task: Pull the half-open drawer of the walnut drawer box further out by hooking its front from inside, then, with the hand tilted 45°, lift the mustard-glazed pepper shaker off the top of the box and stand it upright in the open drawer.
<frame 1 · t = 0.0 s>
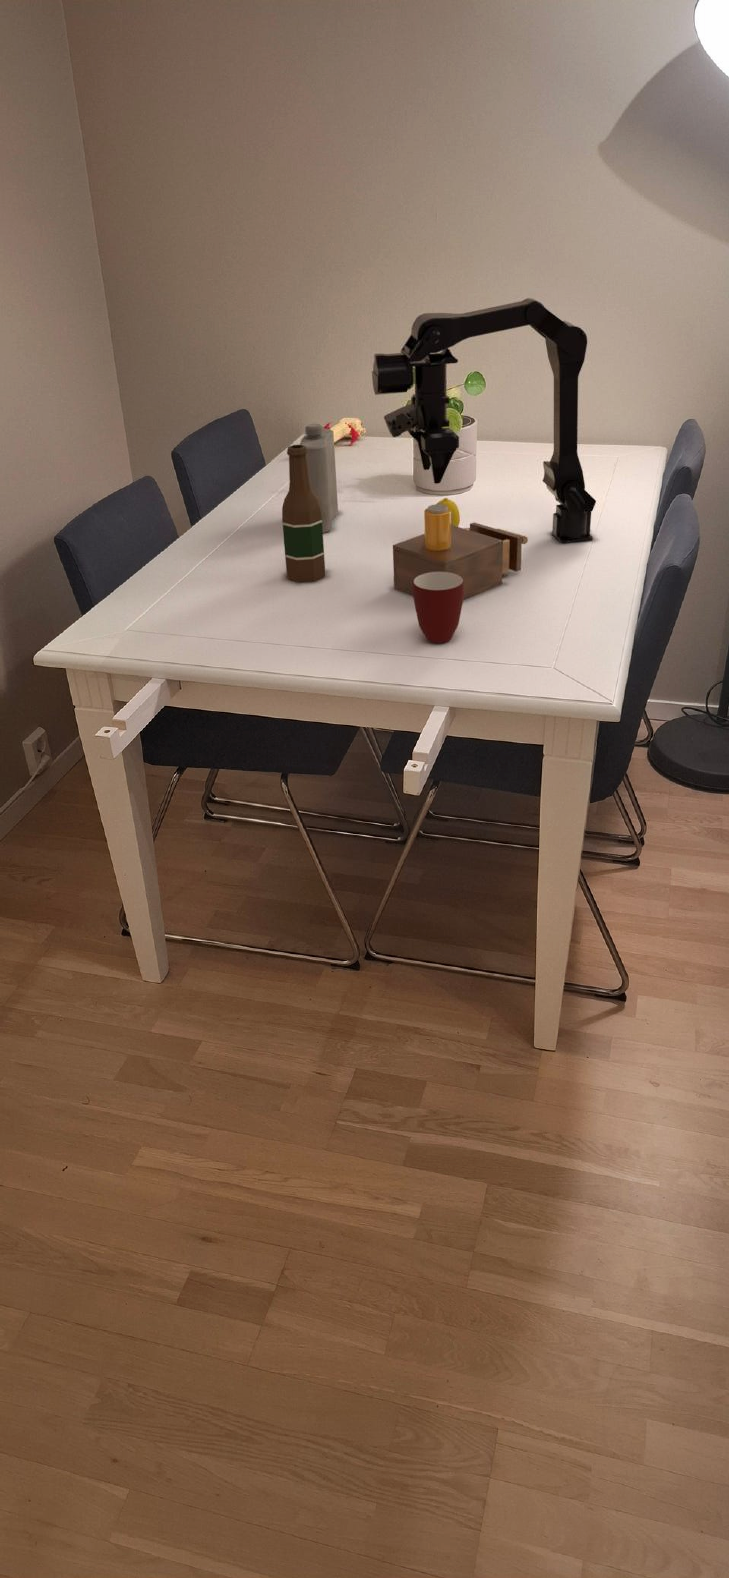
hand: (431, 476, 206), 15 cm above the table, tool pointing down, fingers open, 9 cm apart
pepper shaker: (437, 546, 192), point 8 cm above the table, touching cabinet
drawer: (480, 552, 200), point 4 cm above the table, slide at 4.5 cm
cabinet: (448, 586, 198), on the table
beer bottle: (306, 576, 206), on the table
meaty bone: (336, 447, 282), on the table
mug: (439, 636, 180), on the table
lemon: (446, 538, 220), on the table
flask: (321, 522, 232), on the table
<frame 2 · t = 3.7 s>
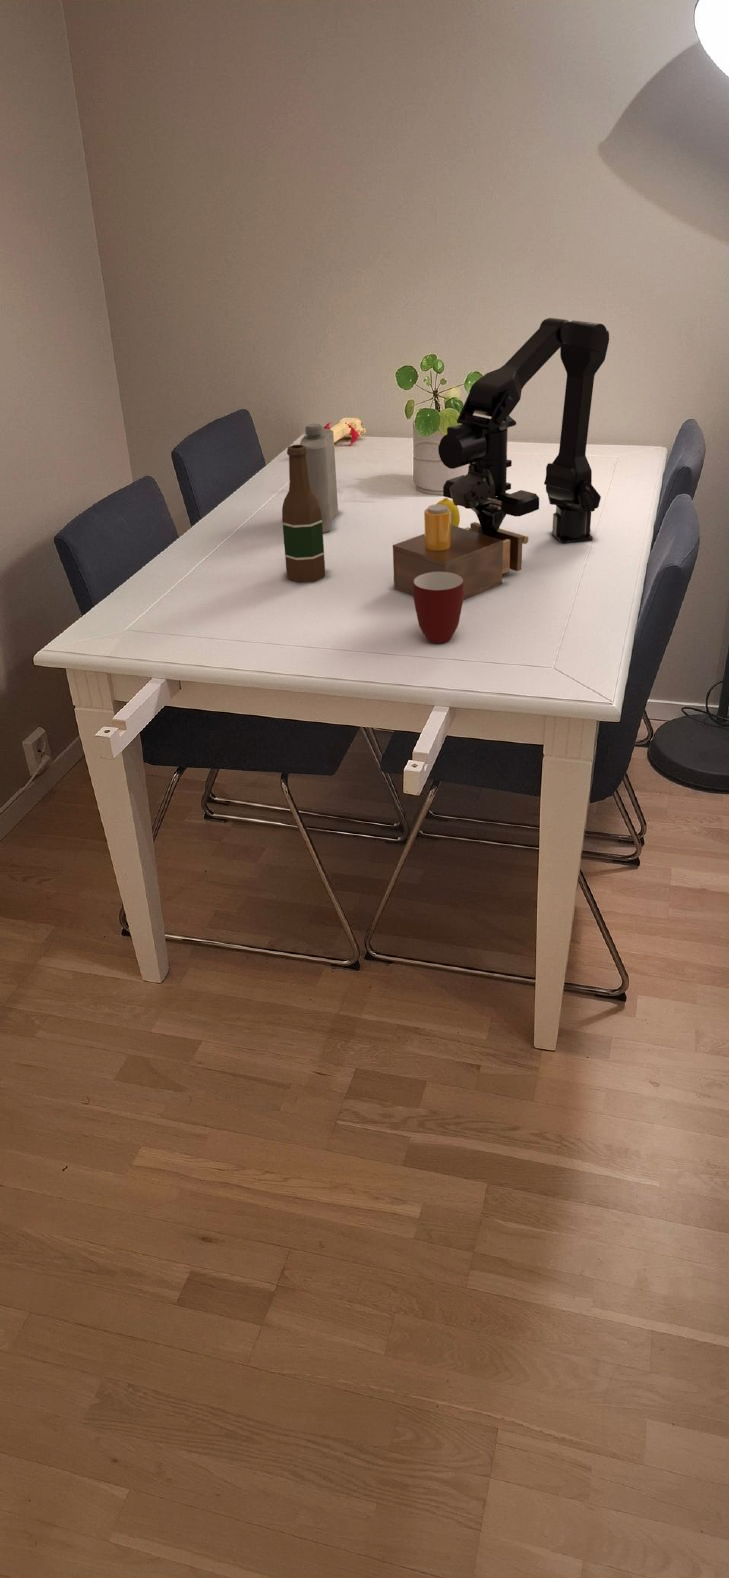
hand: (489, 541, 201), 6 cm above the table, tool pointing down, fingers closed, pressing on drawer
drawer: (481, 552, 201), point 4 cm above the table, slide at 4.7 cm, touching gripper
everything else where it was.
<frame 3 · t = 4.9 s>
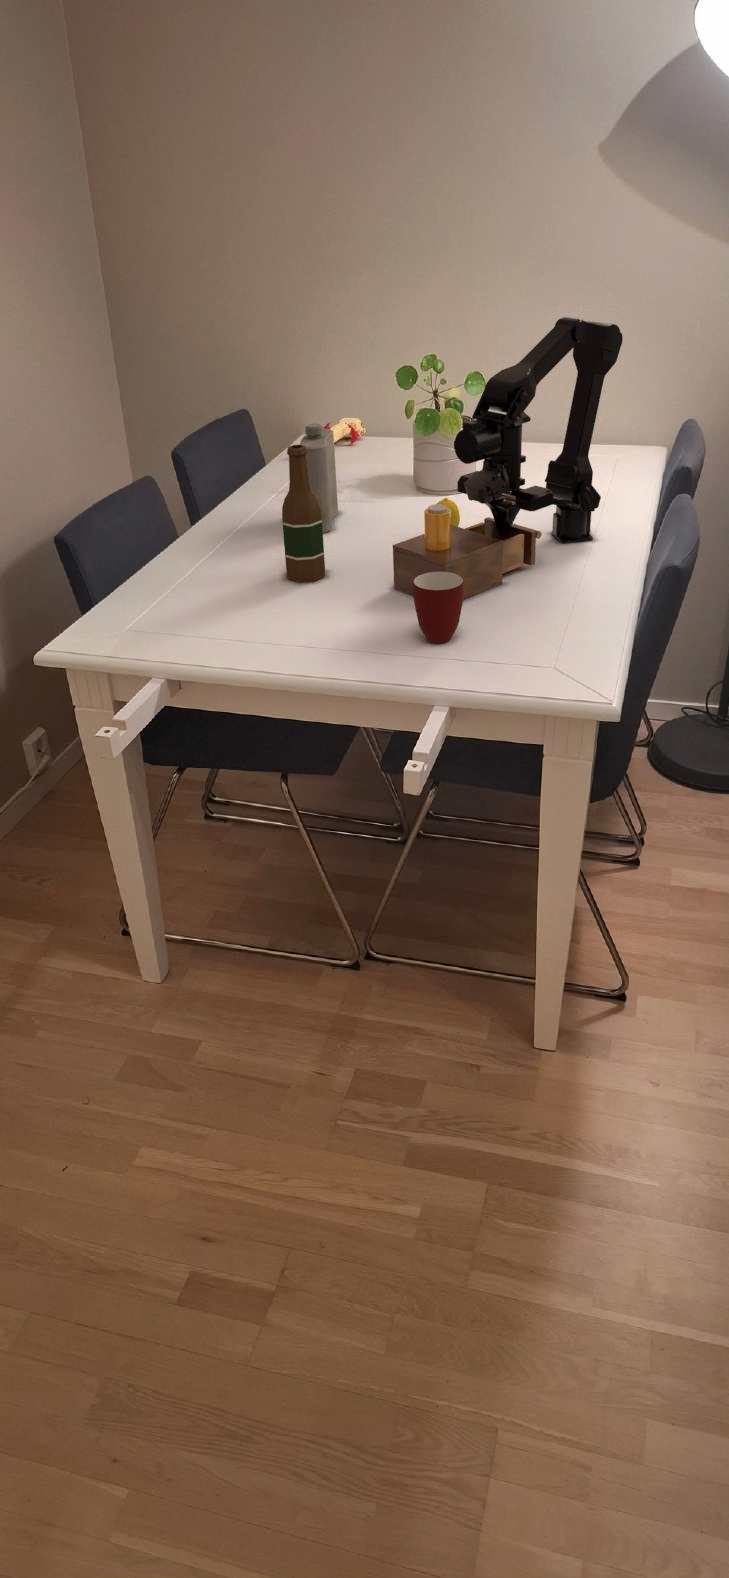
hand: (503, 536, 203), 6 cm above the table, tool pointing down, fingers closed, pressing on drawer
drawer: (495, 546, 203), point 4 cm above the table, slide at 8.4 cm, touching gripper
everything else where it was.
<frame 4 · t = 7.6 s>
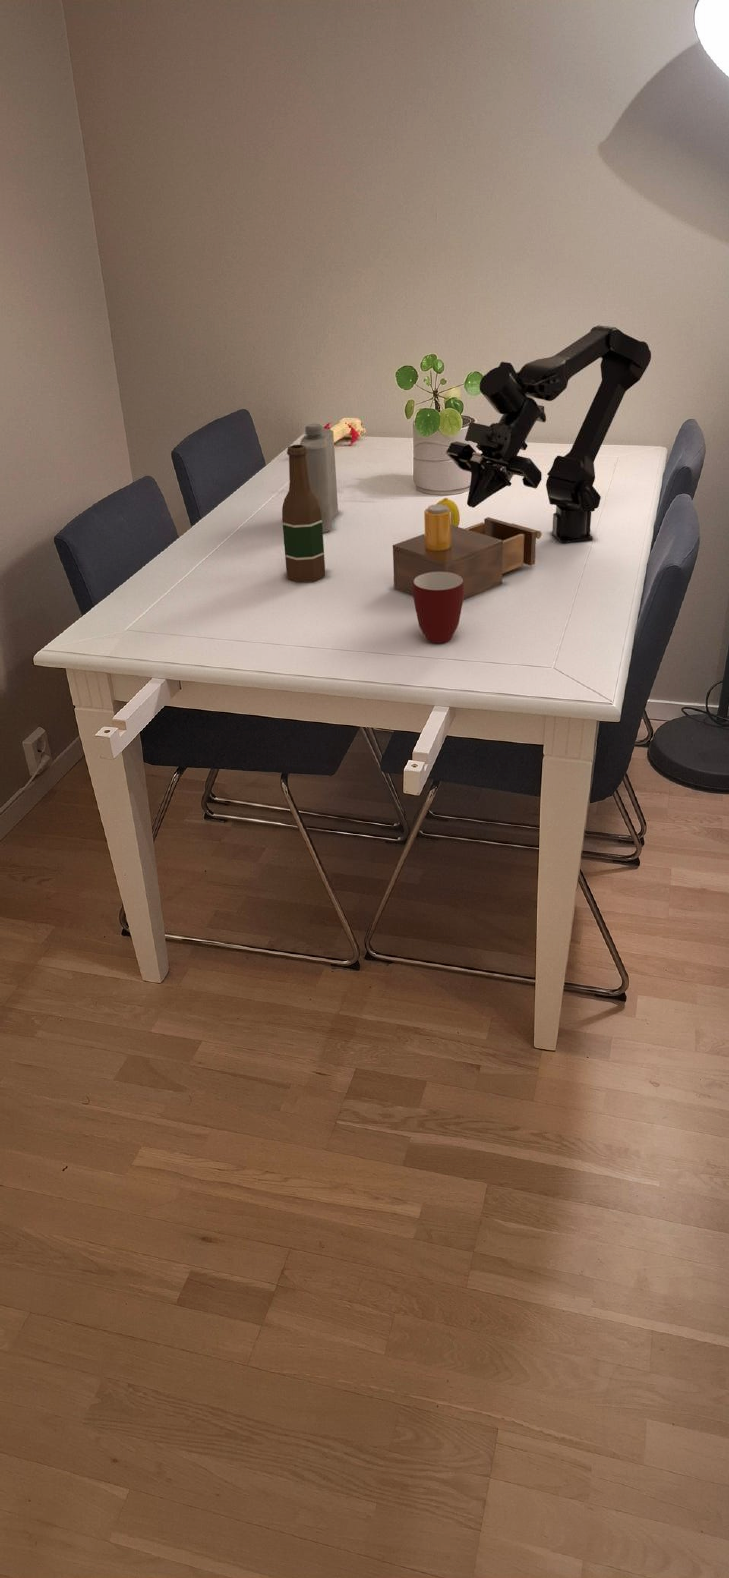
hand: (470, 506, 194), 13 cm above the table, tool tilted 45°, fingers closed
drawer: (495, 546, 203), point 4 cm above the table, slide at 8.4 cm
everything else where it was.
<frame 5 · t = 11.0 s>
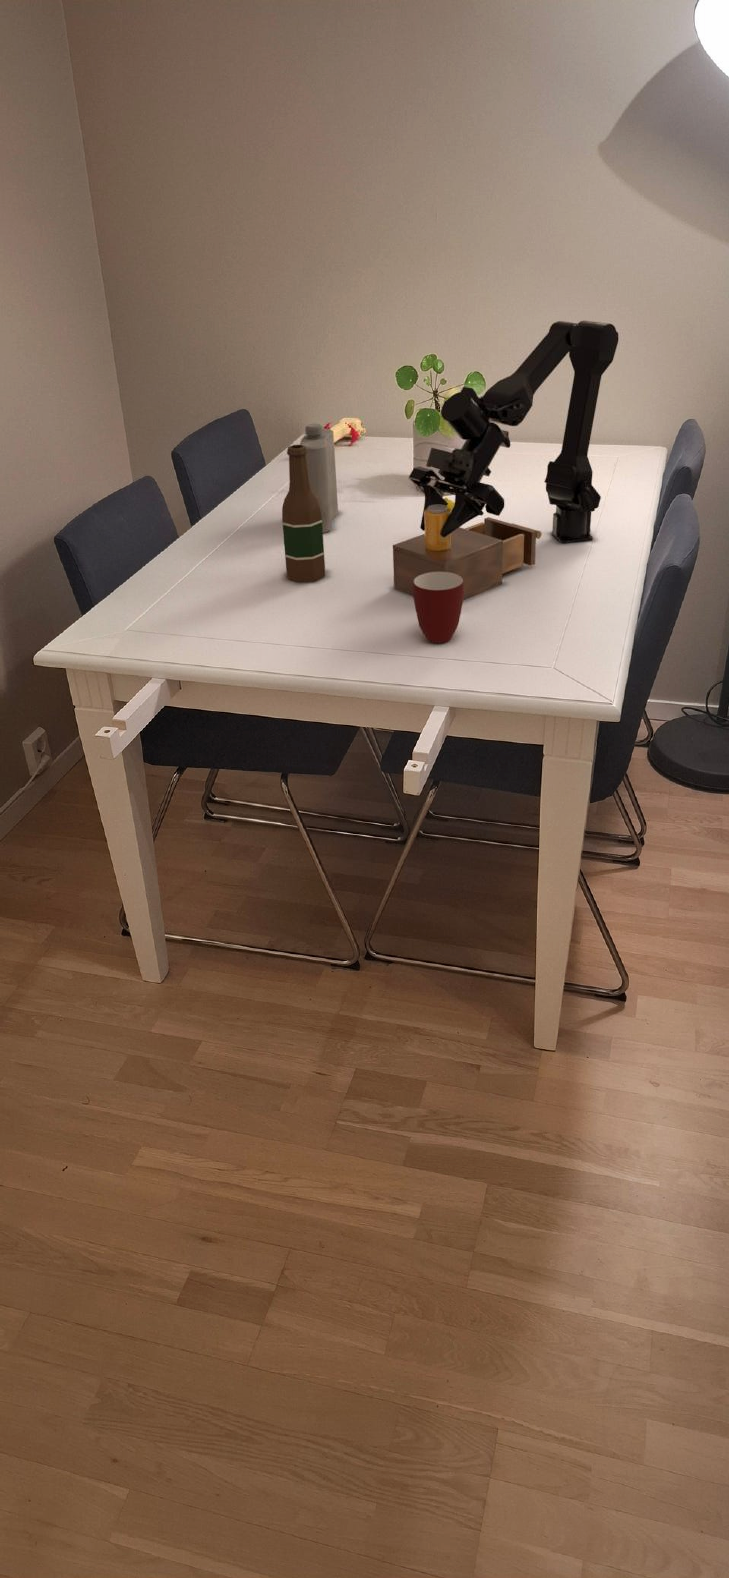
hand: (432, 532, 190), 11 cm above the table, tool tilted 45°, fingers closed on pepper shaker, 4 cm apart
pepper shaker: (437, 546, 192), point 8 cm above the table, touching cabinet, gripper
everything else where it was.
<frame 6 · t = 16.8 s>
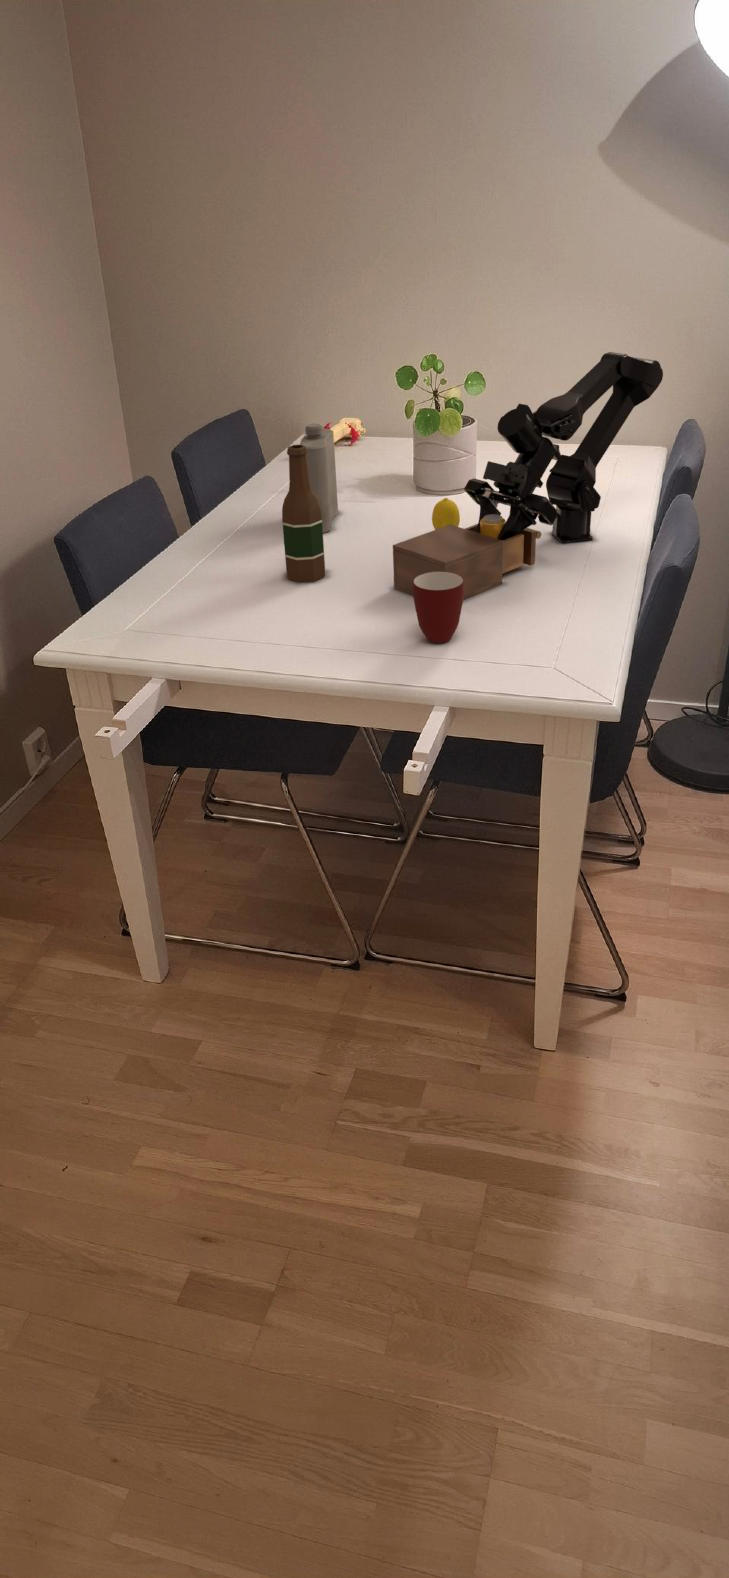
hand: (487, 541, 201), 6 cm above the table, tool tilted 45°, fingers closed on pepper shaker, 4 cm apart
pepper shaker: (492, 554, 203), point 3 cm above the table, touching gripper
everything else where it was.
when the fingers open (6 cm above the table, at t = 23.1 s): pepper shaker drops 2 cm, resting on drawer.
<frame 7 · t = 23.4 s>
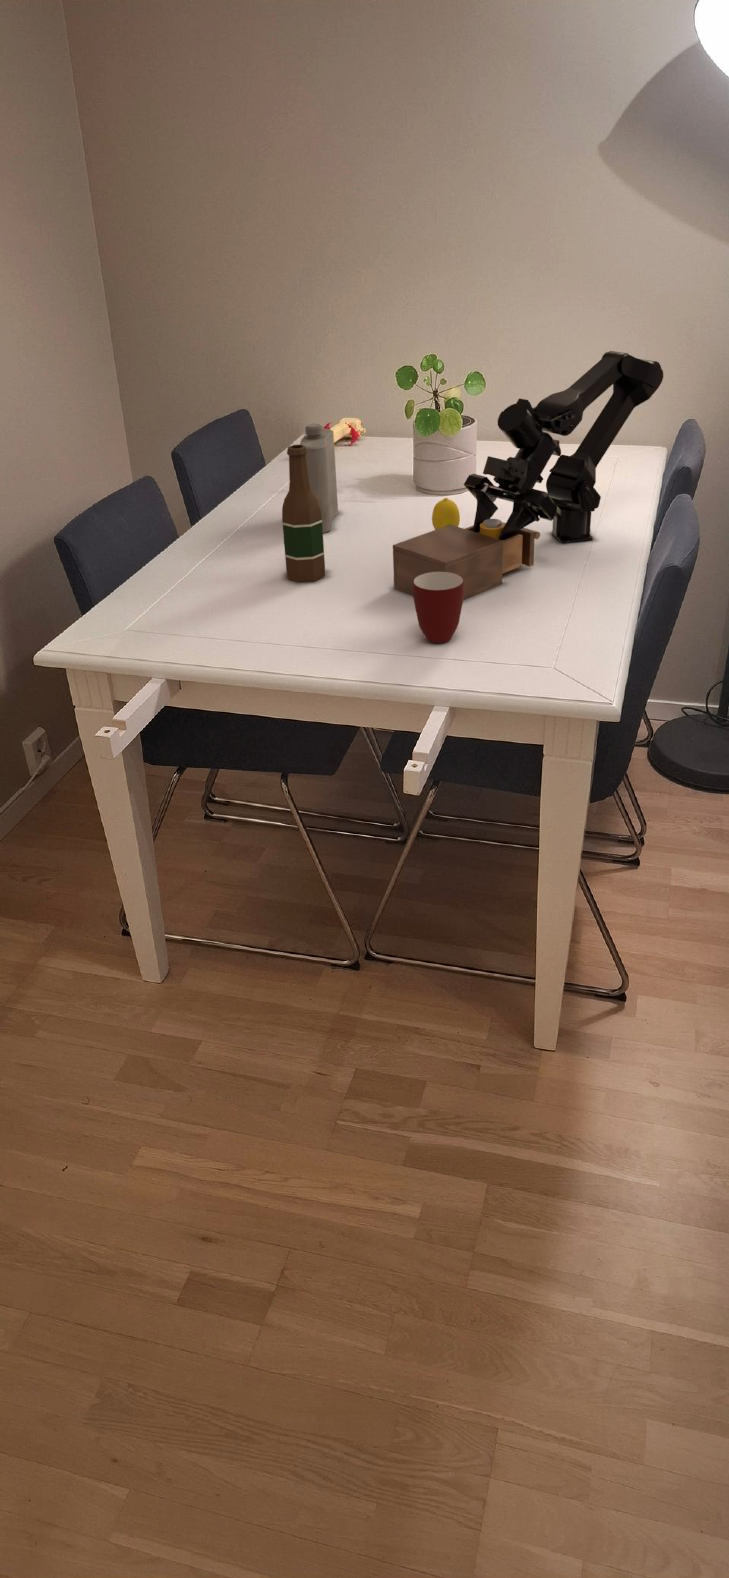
hand: (487, 536, 200), 7 cm above the table, tool tilted 45°, fingers open, 6 cm apart
pepper shaker: (491, 558, 203), point 2 cm above the table, touching drawer
drawer: (493, 547, 202), point 4 cm above the table, slide at 8.0 cm, touching pepper shaker
everything else where it was.
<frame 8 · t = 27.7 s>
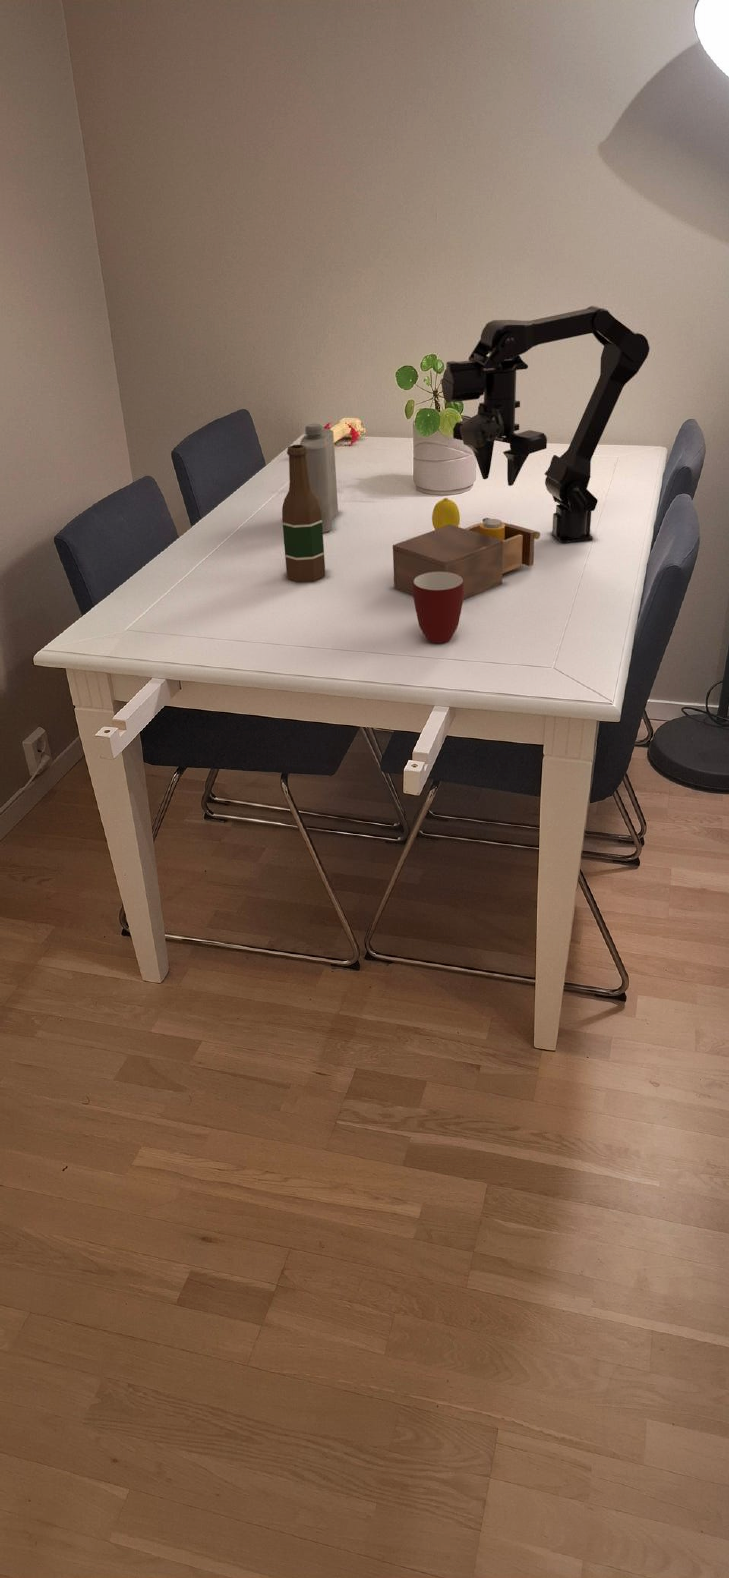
hand: (497, 482, 207), 13 cm above the table, tool pointing down, fingers open, 6 cm apart
nothing on the table moved.
at the end: drawer slide at 8.0 cm; pepper shaker 0.1 cm from the target spot in the drawer, point 2.0 cm above the cabinet's base; pepper shaker tilted 0° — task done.
